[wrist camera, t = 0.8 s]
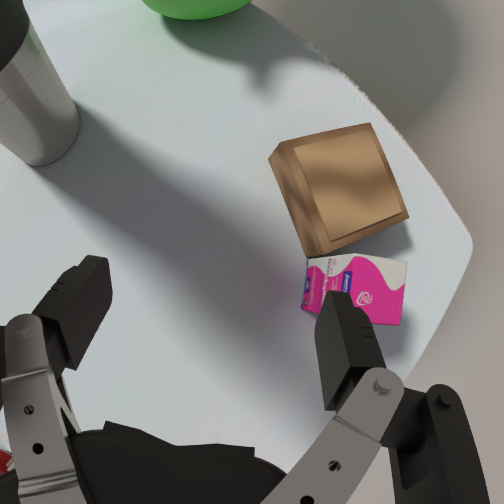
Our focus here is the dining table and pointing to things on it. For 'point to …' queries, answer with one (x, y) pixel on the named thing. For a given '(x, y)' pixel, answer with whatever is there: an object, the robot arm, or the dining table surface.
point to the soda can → (6, 462)
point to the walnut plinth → (337, 187)
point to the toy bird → (194, 8)
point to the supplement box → (358, 284)
